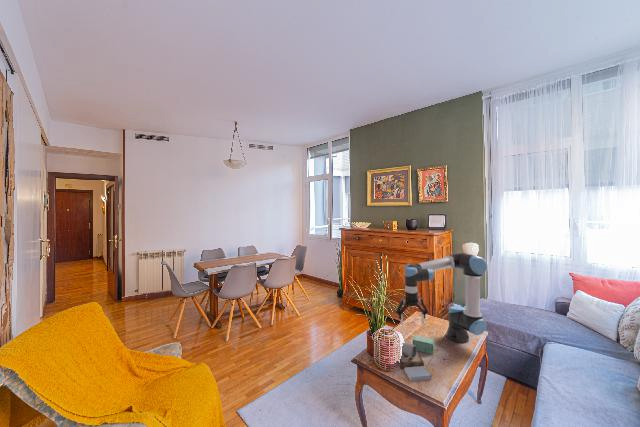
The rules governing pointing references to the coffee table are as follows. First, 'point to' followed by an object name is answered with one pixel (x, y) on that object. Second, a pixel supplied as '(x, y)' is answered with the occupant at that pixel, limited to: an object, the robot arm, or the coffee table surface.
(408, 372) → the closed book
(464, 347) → the coffee table surface
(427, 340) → the box
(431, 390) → the coffee table surface
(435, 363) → the coffee table surface
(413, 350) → the ceramic mug
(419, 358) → the walnut riser
